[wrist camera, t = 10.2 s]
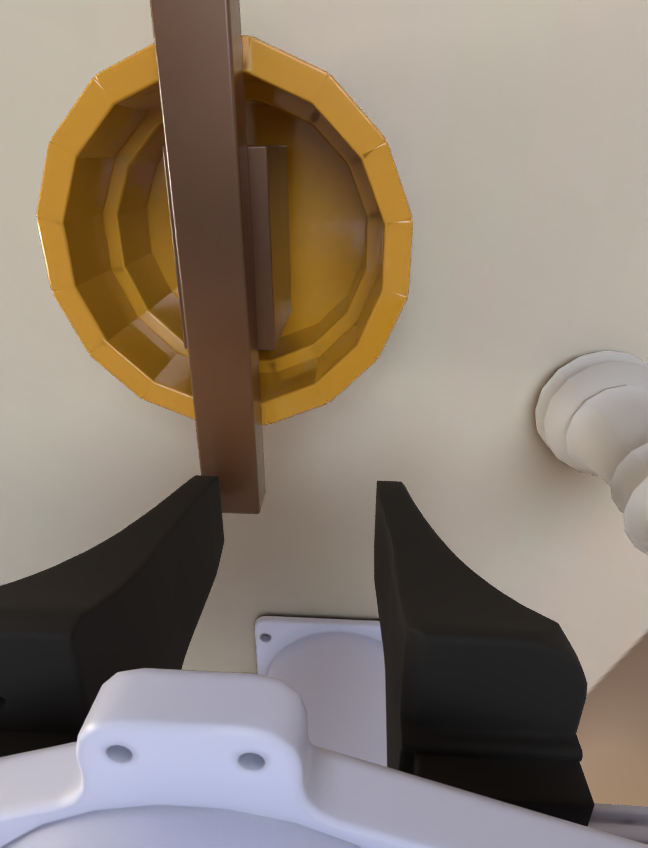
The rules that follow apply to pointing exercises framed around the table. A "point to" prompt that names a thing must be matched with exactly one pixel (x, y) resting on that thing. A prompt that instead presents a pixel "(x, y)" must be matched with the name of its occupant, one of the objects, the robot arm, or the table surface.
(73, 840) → the robot arm
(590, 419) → the rook chess piece
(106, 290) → the bowl
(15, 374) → the table surface
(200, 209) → the tall wooden post
